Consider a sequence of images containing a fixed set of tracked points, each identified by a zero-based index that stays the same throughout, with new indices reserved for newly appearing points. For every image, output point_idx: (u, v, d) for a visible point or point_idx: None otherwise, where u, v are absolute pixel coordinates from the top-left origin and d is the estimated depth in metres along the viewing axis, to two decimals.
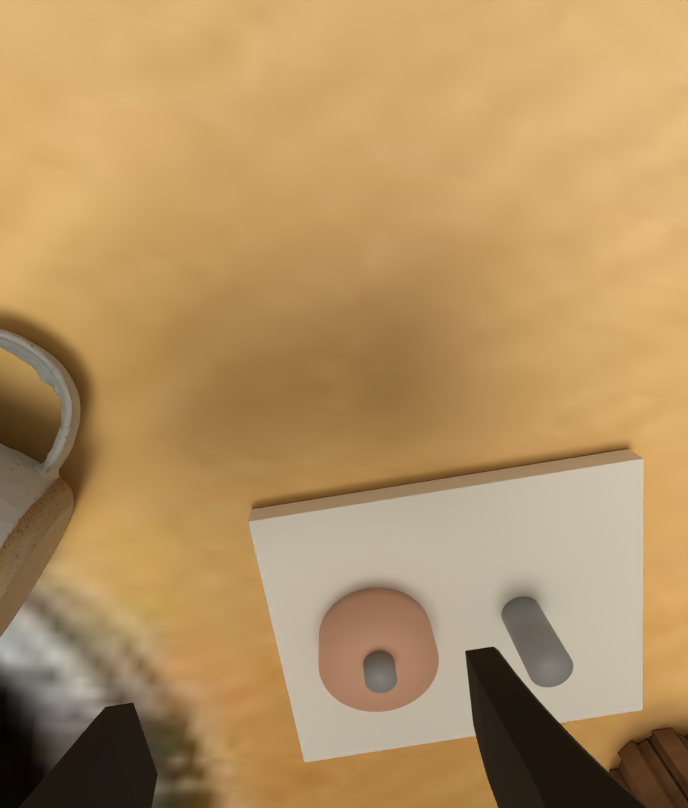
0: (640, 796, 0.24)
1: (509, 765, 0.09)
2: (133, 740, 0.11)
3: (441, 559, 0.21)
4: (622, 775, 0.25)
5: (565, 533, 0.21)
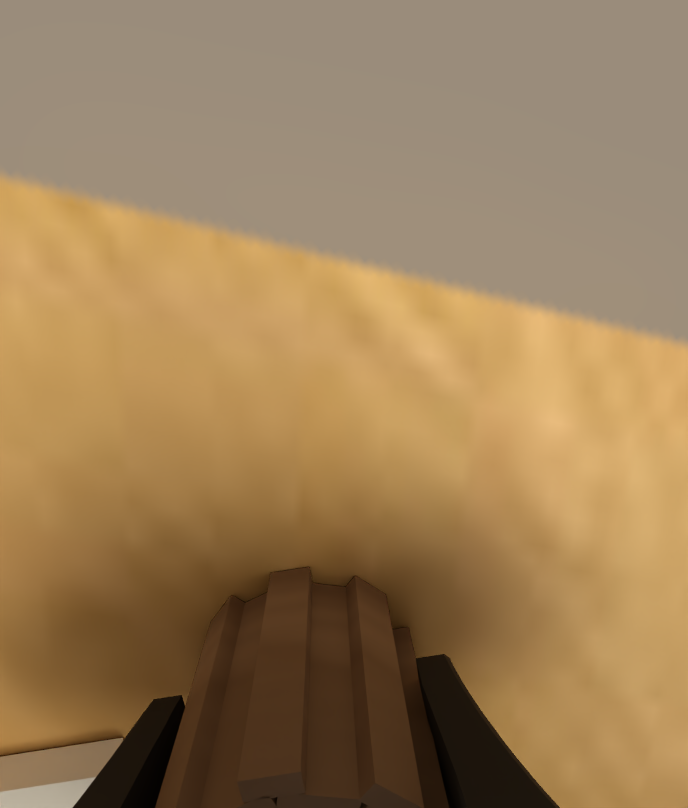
0: None
1: (448, 774, 0.09)
2: None
3: None
4: None
5: None
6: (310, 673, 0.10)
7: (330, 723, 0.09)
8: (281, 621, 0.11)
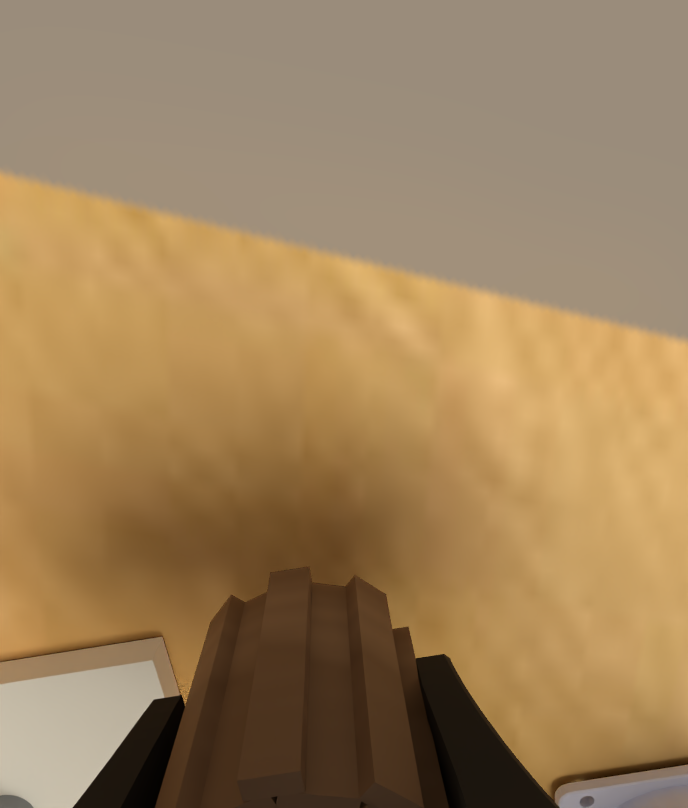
0: None
1: (448, 775, 0.09)
2: None
3: None
4: None
5: None
6: (310, 672, 0.10)
7: (329, 723, 0.09)
8: (281, 620, 0.11)
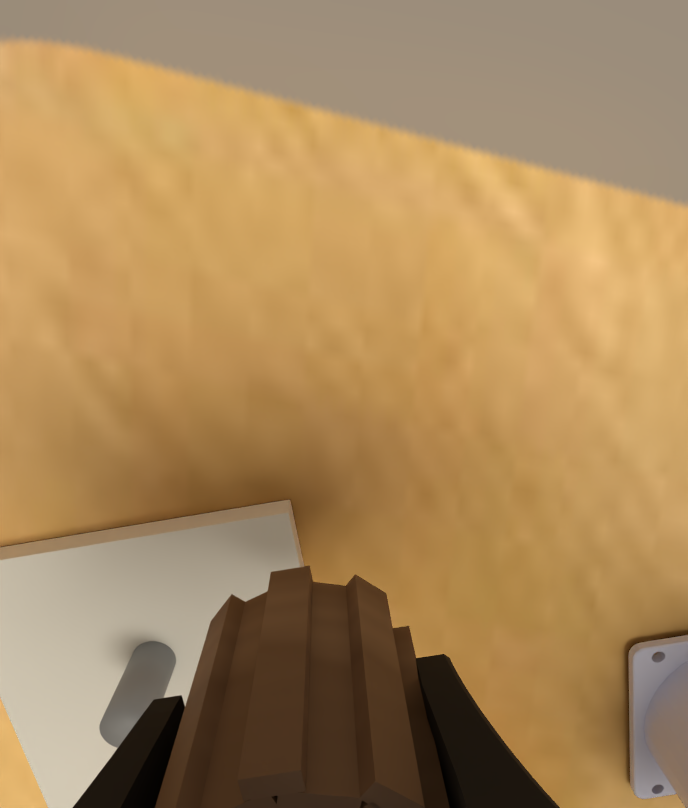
0: None
1: (448, 775, 0.09)
2: None
3: (95, 733, 0.21)
4: None
5: (48, 629, 0.19)
6: (310, 672, 0.10)
7: (330, 721, 0.09)
8: (281, 620, 0.11)
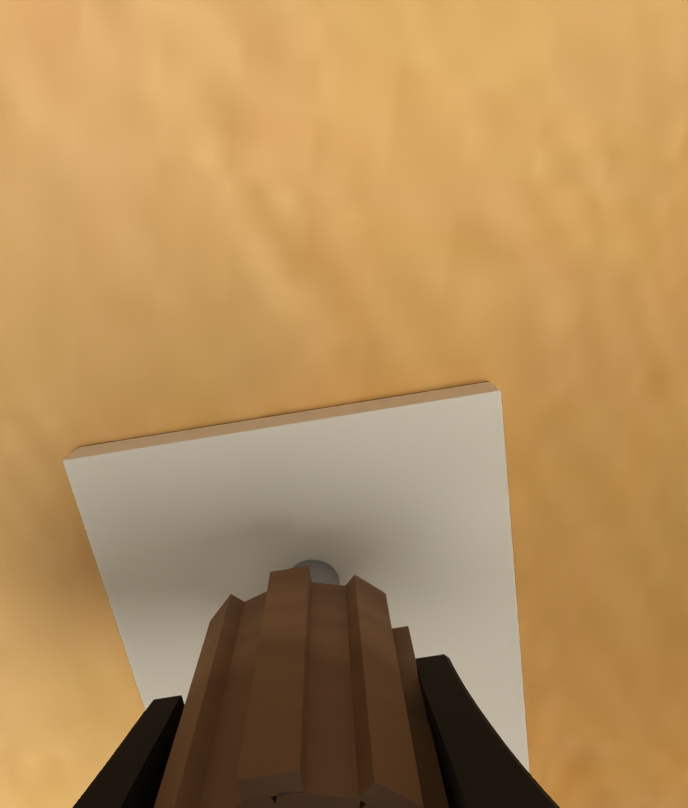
0: None
1: (448, 775, 0.09)
2: None
3: None
4: None
5: (185, 543, 0.15)
6: (309, 672, 0.10)
7: (328, 722, 0.09)
8: (280, 620, 0.11)
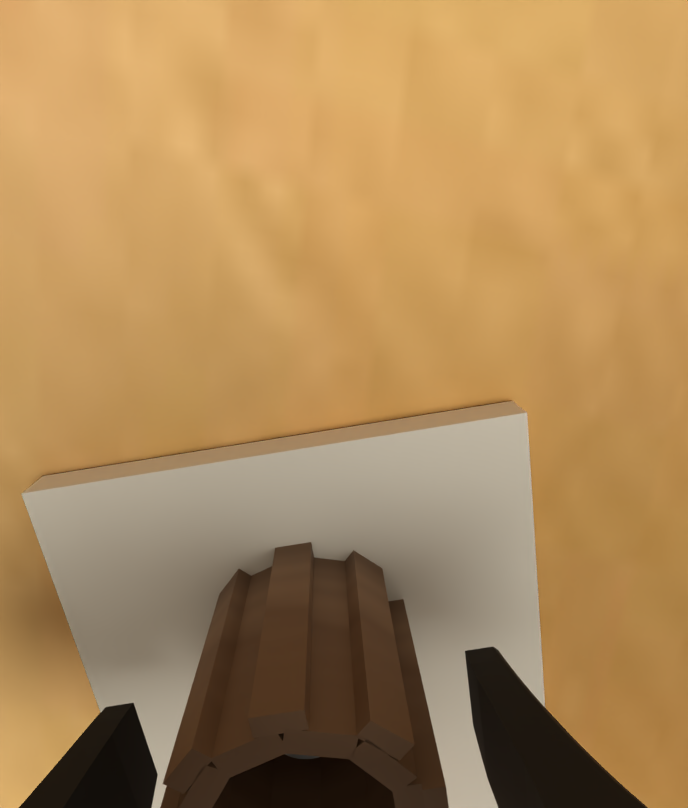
0: None
1: (509, 765, 0.09)
2: (133, 740, 0.11)
3: None
4: None
5: (164, 585, 0.13)
6: (312, 633, 0.11)
7: (330, 674, 0.10)
8: (285, 588, 0.12)
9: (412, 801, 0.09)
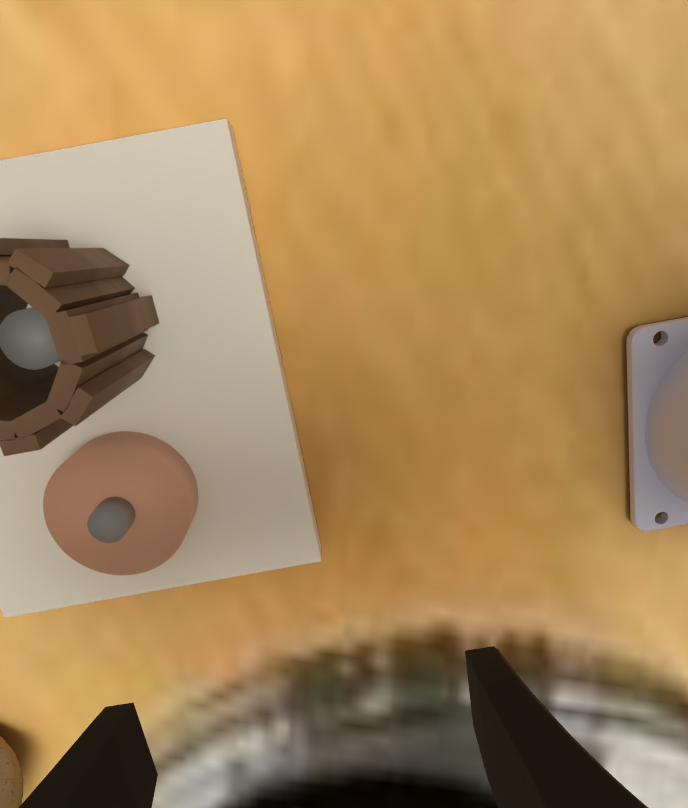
0: None
1: (509, 765, 0.09)
2: (134, 740, 0.11)
3: None
4: None
5: None
6: None
7: None
8: None
9: (63, 328, 0.12)
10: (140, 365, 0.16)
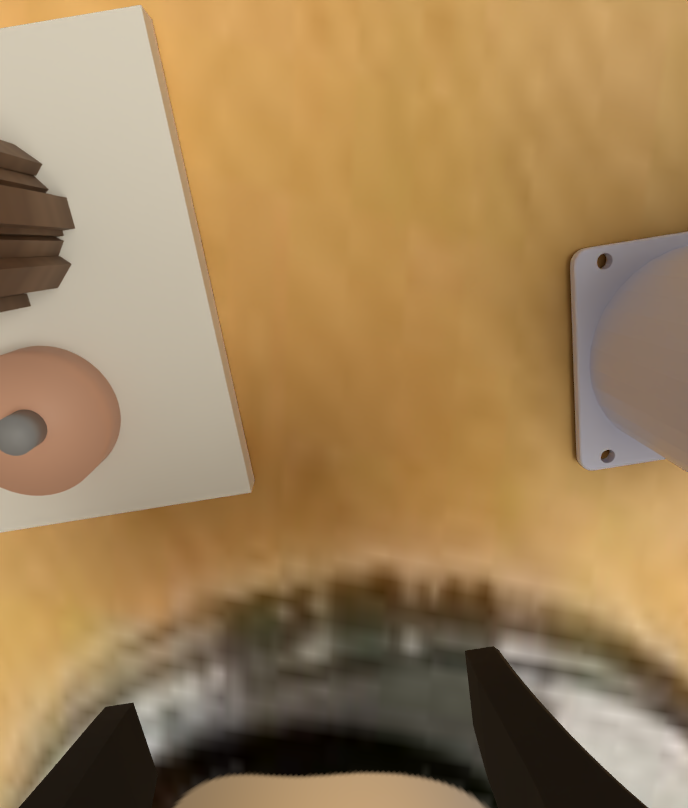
0: None
1: (509, 765, 0.09)
2: (133, 740, 0.11)
3: None
4: None
5: None
6: None
7: None
8: None
9: None
10: (48, 266, 0.15)
